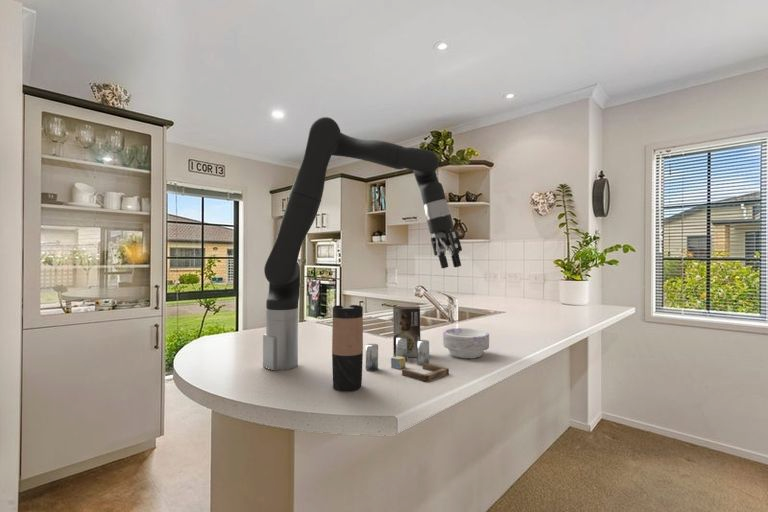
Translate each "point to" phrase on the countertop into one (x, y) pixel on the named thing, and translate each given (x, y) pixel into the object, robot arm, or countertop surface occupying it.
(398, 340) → the block
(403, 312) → the coffee box
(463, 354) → the marble bowl
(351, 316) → the travel mug
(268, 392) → the countertop surface
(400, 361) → the alphabet block
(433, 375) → the tray
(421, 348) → the spacer
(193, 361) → the countertop surface
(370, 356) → the spacer
